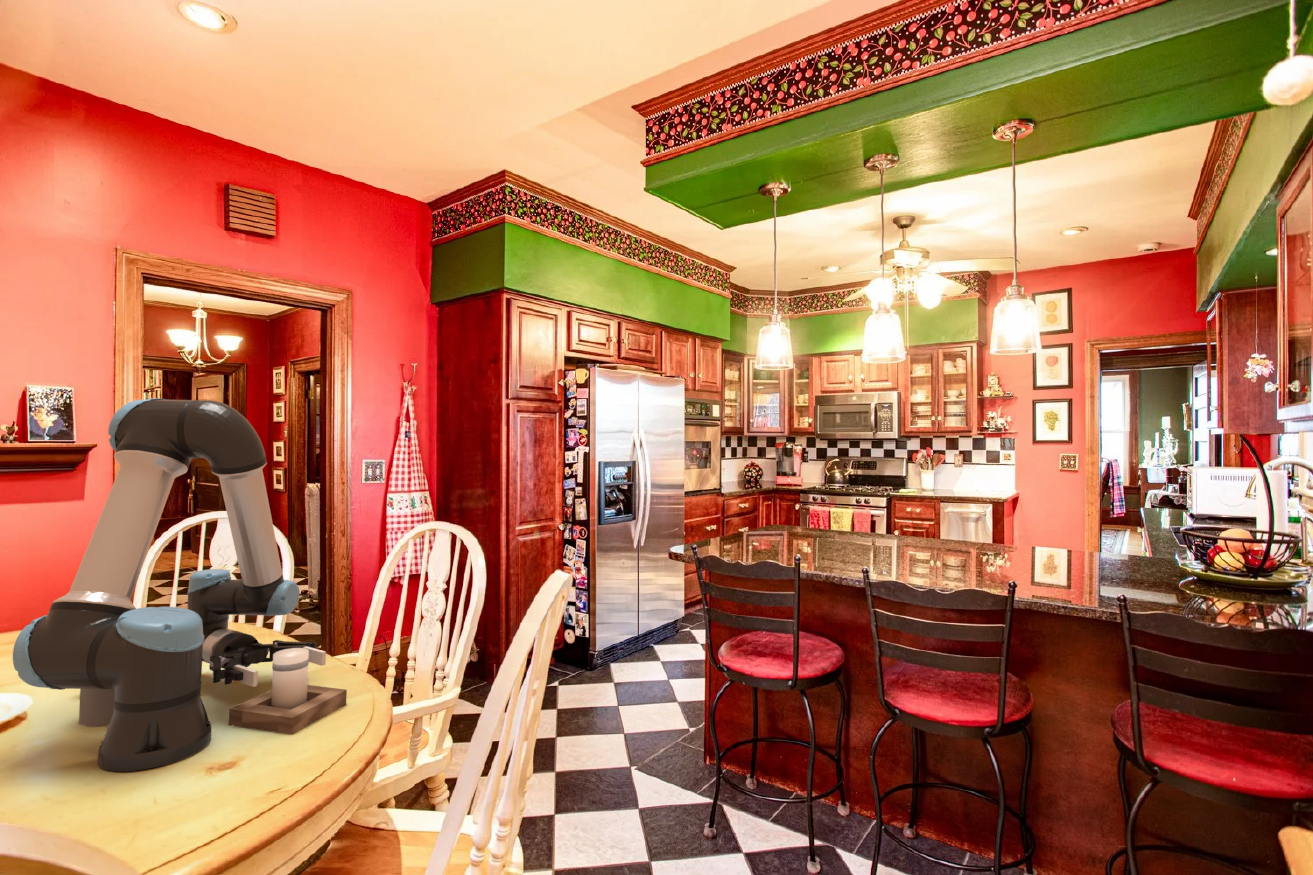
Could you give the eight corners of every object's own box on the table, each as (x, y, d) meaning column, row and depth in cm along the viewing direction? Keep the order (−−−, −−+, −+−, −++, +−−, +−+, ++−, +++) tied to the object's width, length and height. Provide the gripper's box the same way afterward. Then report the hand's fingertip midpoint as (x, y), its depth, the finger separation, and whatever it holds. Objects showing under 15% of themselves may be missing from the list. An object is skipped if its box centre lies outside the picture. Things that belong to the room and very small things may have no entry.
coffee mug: (76, 731, 114) (78, 675, 114) (81, 713, 121) (83, 660, 122) (170, 713, 122) (172, 661, 122) (169, 697, 130) (170, 648, 130)
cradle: (291, 734, 114) (292, 717, 114) (228, 725, 118) (229, 708, 118) (346, 704, 128) (346, 689, 128) (288, 696, 131) (288, 682, 131)
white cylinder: (289, 723, 119) (292, 658, 119) (262, 719, 120) (265, 655, 121) (314, 710, 125) (316, 649, 125) (288, 706, 126) (290, 646, 127)
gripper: (288, 651, 145) (348, 668, 135) (162, 686, 123) (221, 709, 113) (290, 618, 145) (349, 633, 135) (163, 647, 123) (223, 667, 113)
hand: (291, 668), depth 124 cm, fingers open, 13 cm apart
